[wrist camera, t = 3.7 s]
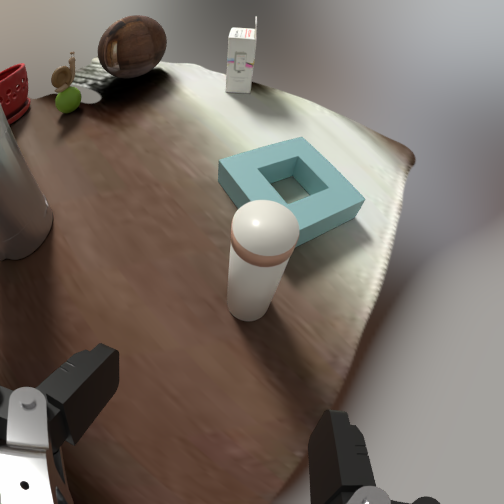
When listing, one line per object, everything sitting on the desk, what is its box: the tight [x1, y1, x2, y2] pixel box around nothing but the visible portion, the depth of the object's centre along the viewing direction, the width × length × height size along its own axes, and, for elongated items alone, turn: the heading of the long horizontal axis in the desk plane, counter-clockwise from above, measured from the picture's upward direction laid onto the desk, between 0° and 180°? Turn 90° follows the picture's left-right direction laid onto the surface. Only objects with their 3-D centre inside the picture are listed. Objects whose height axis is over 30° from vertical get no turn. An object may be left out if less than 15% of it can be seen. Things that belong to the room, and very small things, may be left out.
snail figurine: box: [51, 52, 81, 113], centre depth 38 cm, size 5×6×12 cm
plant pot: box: [0, 63, 30, 125], centre depth 38 cm, size 13×13×12 cm
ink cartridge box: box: [226, 16, 257, 93], centre depth 44 cm, size 9×5×15 cm, turn 0°
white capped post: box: [227, 200, 299, 321], centre depth 22 cm, size 4×4×12 cm
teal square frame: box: [218, 137, 365, 247], centre depth 33 cm, size 12×12×4 cm
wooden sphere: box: [98, 15, 167, 78], centre depth 45 cm, size 15×15×15 cm
